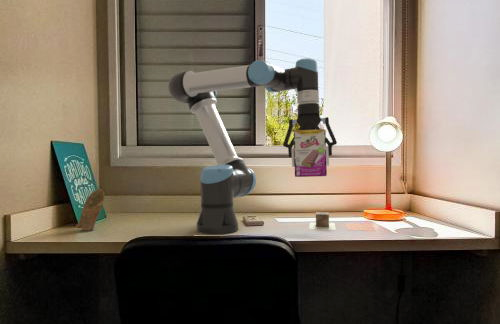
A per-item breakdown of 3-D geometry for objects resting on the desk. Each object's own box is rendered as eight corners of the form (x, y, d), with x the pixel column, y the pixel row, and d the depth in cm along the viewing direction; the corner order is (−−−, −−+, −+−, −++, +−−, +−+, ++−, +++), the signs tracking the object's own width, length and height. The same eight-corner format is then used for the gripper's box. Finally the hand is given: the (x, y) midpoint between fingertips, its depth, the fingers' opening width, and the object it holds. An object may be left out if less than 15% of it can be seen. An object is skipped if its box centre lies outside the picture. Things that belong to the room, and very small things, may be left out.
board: (306, 233, 125) (306, 229, 125) (307, 225, 139) (307, 221, 139) (379, 236, 121) (379, 231, 121) (373, 227, 134) (373, 223, 134)
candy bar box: (294, 177, 127) (293, 130, 127) (294, 176, 132) (293, 131, 132) (327, 176, 126) (325, 128, 126) (326, 175, 131) (324, 129, 131)
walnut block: (315, 226, 129) (315, 214, 129) (316, 224, 134) (316, 212, 134) (328, 227, 128) (328, 214, 128) (328, 224, 133) (328, 212, 133)
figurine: (74, 231, 134) (73, 190, 133) (93, 227, 141) (92, 188, 140) (90, 233, 130) (89, 191, 129) (109, 229, 137) (108, 189, 137)
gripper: (273, 104, 128) (275, 167, 128) (343, 99, 123) (345, 165, 123) (276, 107, 135) (278, 166, 135) (342, 103, 130) (344, 164, 130)
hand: (310, 166), depth 129 cm, fingers closed on candy bar box, 11 cm apart
